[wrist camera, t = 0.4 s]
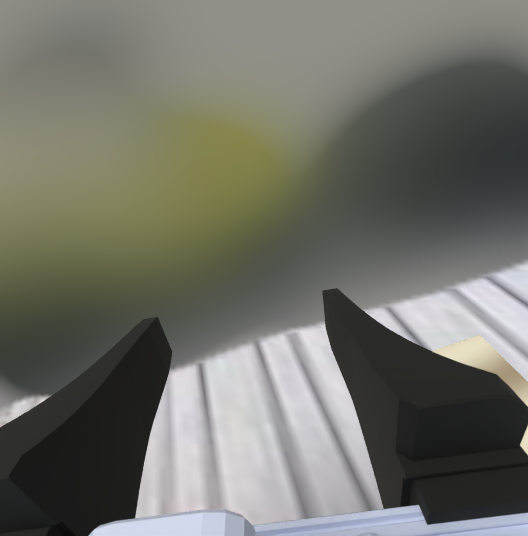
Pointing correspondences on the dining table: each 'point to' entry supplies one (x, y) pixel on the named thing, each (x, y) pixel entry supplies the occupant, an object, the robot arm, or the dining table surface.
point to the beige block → (488, 367)
